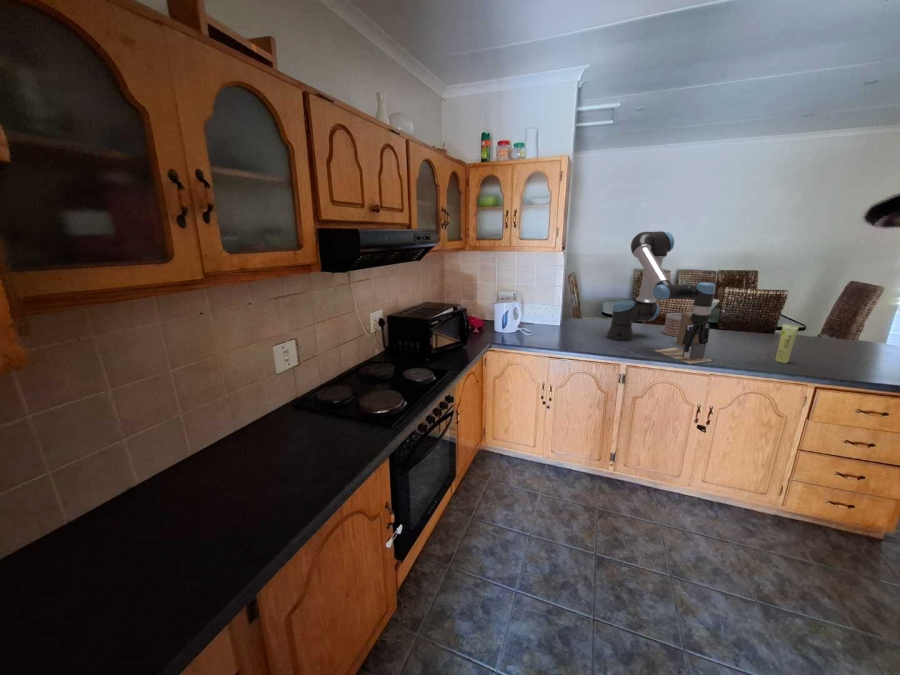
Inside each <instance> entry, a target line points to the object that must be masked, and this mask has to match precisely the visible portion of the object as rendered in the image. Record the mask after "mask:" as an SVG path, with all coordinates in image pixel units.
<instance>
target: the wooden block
mask: <svg viewBox="0 0 900 675" xmlns="http://www.w3.org/2000/svg"><path fill="white" fill-rule="evenodd" d="M692 313H693V312H692V311H682V312H681V314H682V316H681V321H680V327H679V332H678V337H676V338H677V339H676V344H677V345H679V346H680V347H682V348H684V345H683V344H682V342H683V339H684V335H685V332H686V326H690V325H691V324H692V321H691V315H692ZM706 324H708V322H707V323H706ZM693 342H698V343H699V339H698V334H696V336H695V338H694V340H693Z"/></svg>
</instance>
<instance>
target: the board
mask: <svg viewBox="0 0 900 675" xmlns="http://www.w3.org/2000/svg"><path fill="white" fill-rule="evenodd" d="M683 350H684V349H683ZM683 350H682V349H679V348H676V347H671V348H670V347H669V348H661V349H654V350H653V351H655V352H656V353H659V354H663V355H665V356H668V357H670V358H673V359H675V360H678V361H681V362H684V363H687V364H689V365H691V364H696V363H697V364H698V363H704V362H712V359H709V358H706V357H705V356H704V357H703V360H698V361H691V360H688V359H685V358H682V355H683Z"/></svg>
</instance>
